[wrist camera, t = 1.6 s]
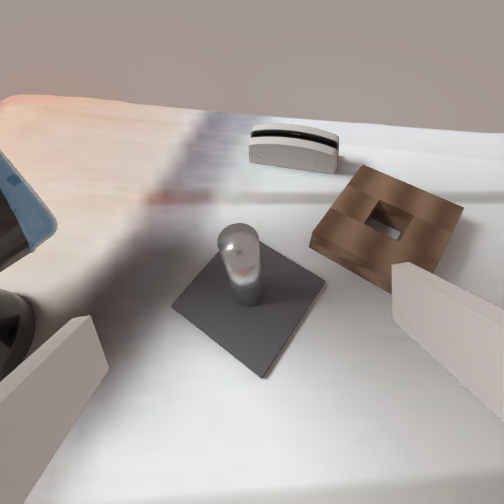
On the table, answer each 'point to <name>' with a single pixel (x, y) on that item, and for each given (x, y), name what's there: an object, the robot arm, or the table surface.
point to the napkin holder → (294, 147)
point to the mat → (250, 308)
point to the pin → (242, 262)
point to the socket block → (392, 214)
